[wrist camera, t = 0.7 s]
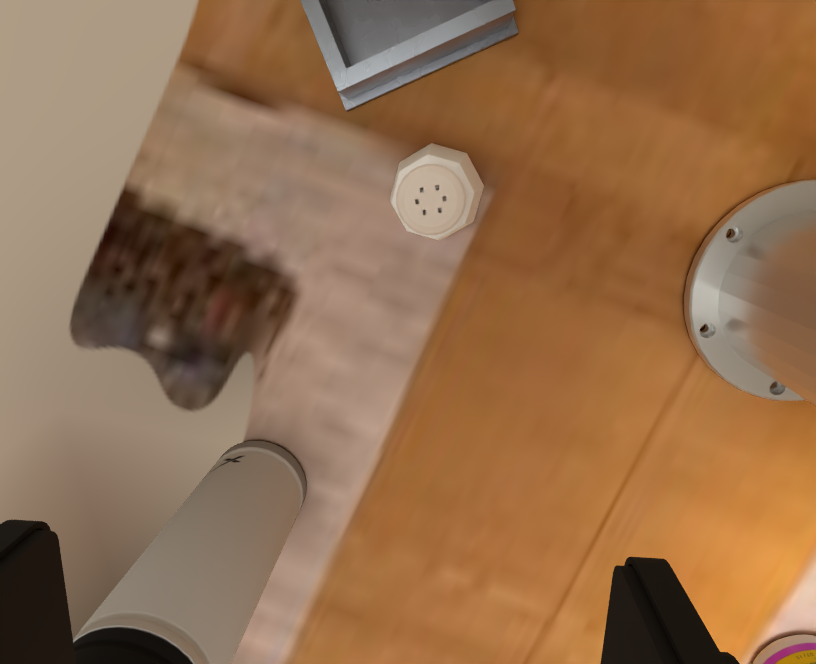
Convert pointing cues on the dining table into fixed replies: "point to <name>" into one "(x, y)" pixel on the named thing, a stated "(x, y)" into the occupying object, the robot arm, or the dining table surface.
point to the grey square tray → (401, 39)
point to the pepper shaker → (436, 192)
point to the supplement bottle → (789, 651)
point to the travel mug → (202, 567)
